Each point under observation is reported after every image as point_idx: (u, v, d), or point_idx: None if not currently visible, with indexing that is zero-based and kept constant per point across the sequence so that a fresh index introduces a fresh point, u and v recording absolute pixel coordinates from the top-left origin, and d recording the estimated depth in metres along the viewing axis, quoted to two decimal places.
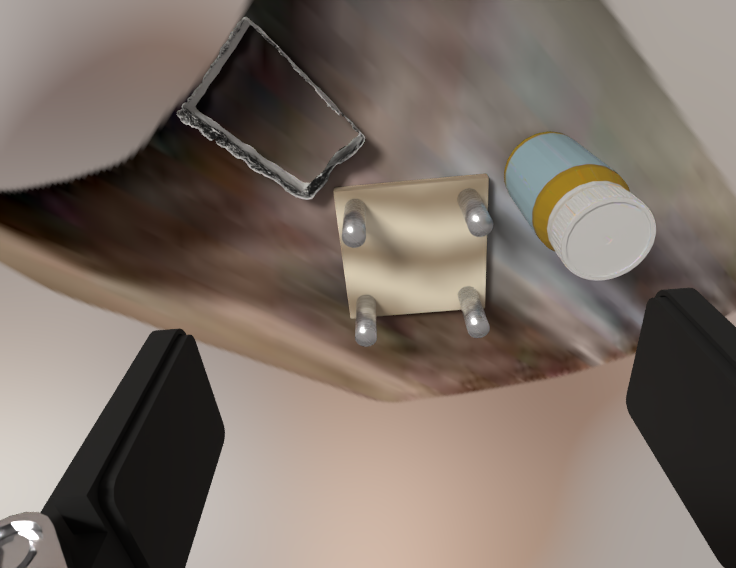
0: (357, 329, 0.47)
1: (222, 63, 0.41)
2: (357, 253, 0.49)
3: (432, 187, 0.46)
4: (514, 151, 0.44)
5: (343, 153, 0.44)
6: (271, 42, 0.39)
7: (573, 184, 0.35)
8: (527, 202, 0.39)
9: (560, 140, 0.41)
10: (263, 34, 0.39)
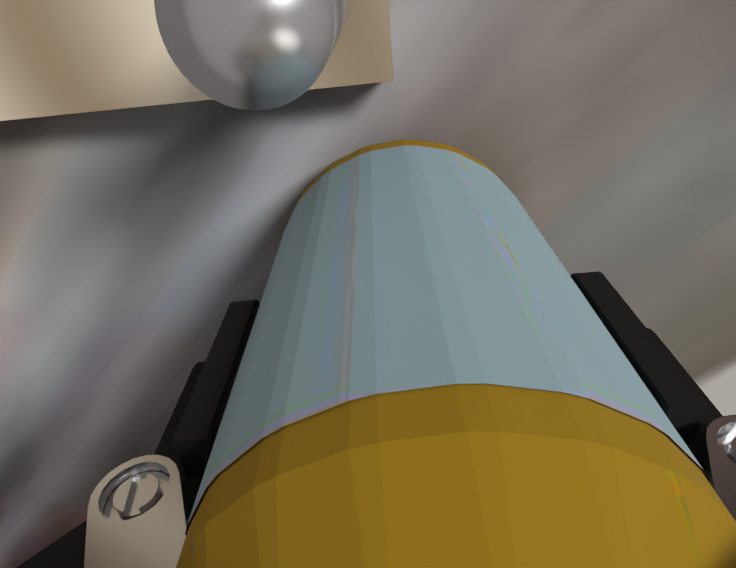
0: None
1: None
2: None
3: None
4: (483, 164, 0.13)
5: None
6: None
7: None
8: (456, 301, 0.06)
9: None
10: None
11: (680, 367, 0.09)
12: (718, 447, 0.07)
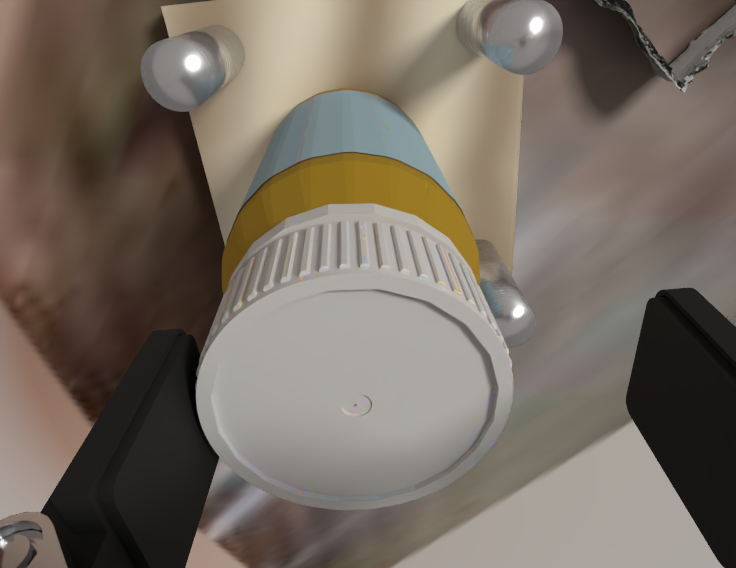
0: (195, 44, 0.15)
1: None
2: (361, 29, 0.20)
3: (508, 193, 0.24)
4: (393, 103, 0.20)
5: None
6: None
7: (463, 251, 0.12)
8: (350, 136, 0.14)
9: None
10: None
11: None
12: None
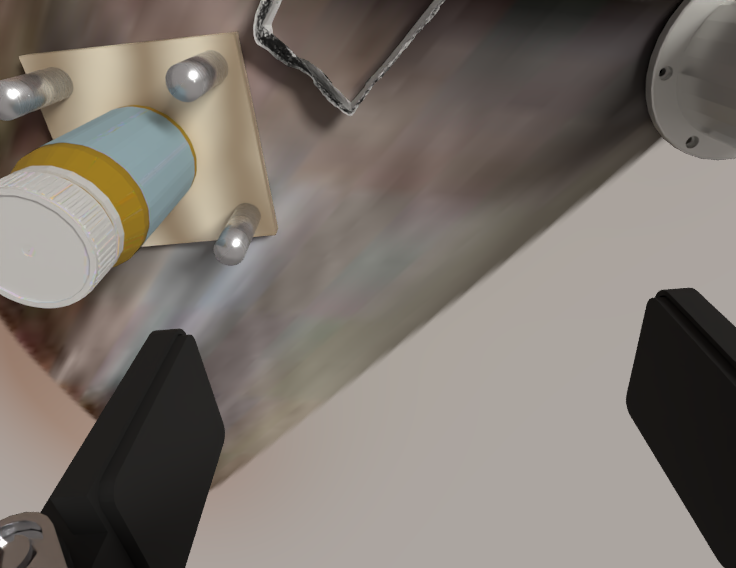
0: (11, 85, 0.28)
1: None
2: (140, 69, 0.33)
3: (256, 172, 0.36)
4: (162, 114, 0.33)
5: (326, 85, 0.33)
6: None
7: (109, 191, 0.25)
8: (78, 134, 0.27)
9: (183, 169, 0.33)
10: None
11: None
12: None
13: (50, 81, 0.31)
